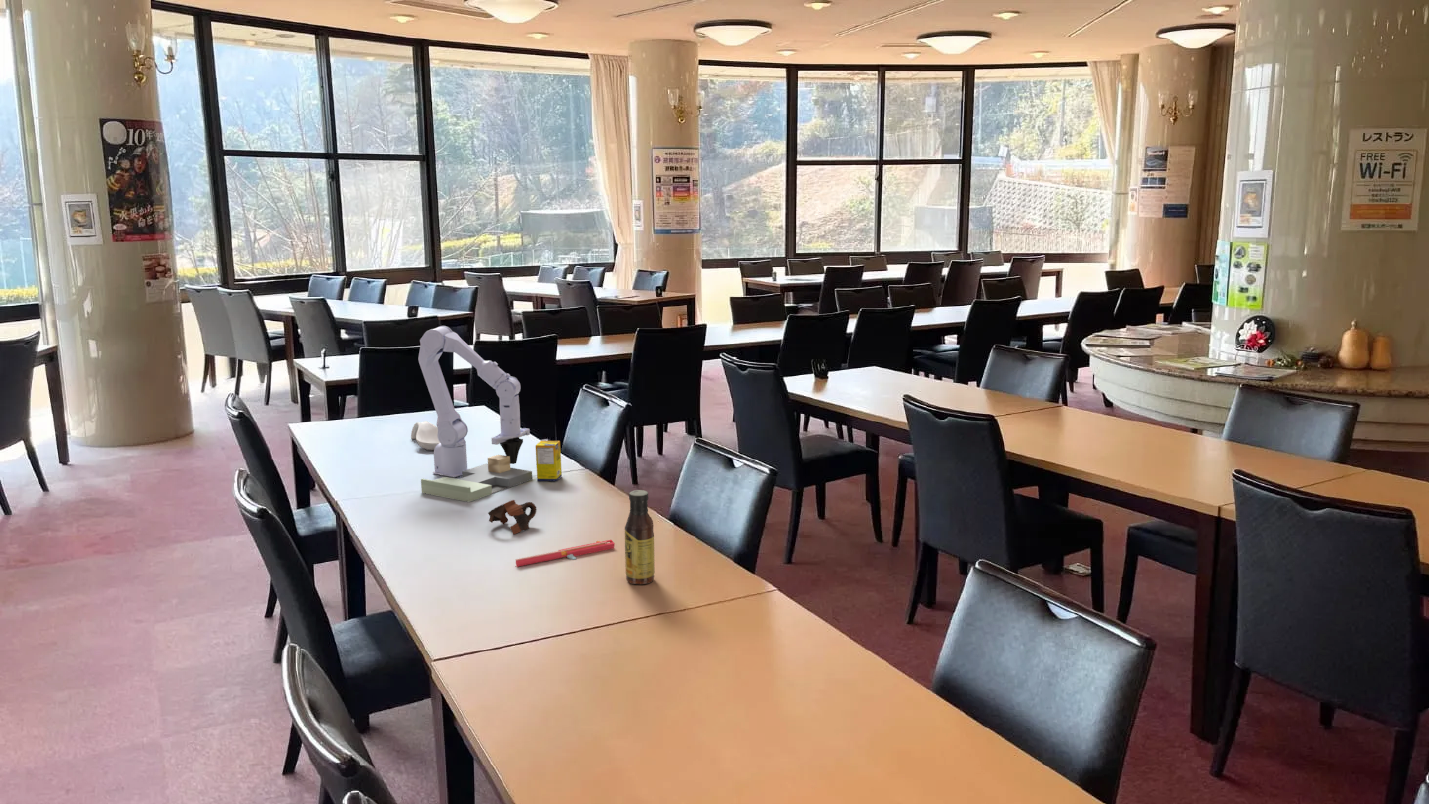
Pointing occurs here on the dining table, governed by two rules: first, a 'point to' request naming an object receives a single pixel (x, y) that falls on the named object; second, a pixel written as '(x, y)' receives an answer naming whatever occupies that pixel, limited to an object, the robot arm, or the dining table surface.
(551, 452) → the supplement box
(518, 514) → the pottery mug
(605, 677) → the dining table surface
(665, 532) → the dining table surface
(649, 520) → the sauce bottle
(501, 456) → the maple block
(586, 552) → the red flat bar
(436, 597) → the dining table surface
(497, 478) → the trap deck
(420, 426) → the spoon rest
